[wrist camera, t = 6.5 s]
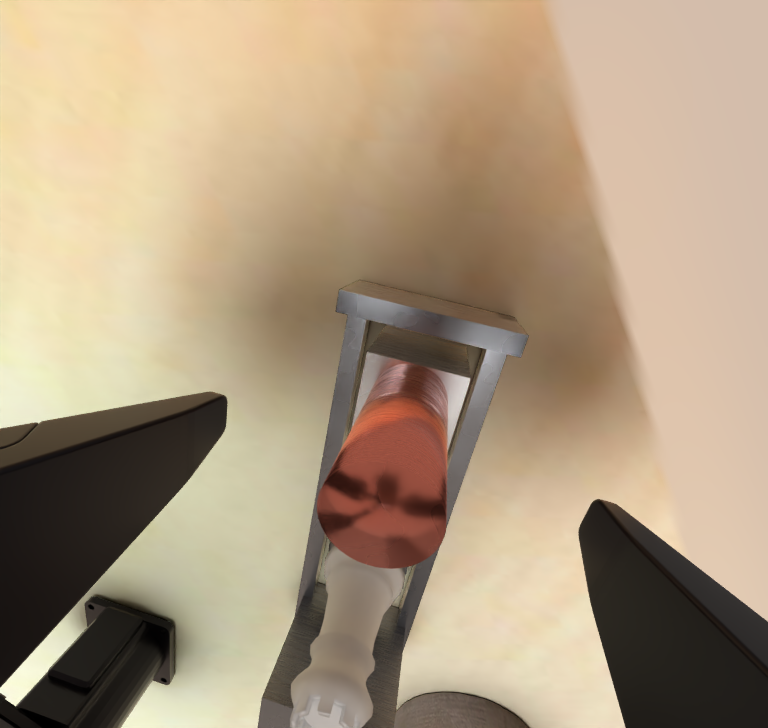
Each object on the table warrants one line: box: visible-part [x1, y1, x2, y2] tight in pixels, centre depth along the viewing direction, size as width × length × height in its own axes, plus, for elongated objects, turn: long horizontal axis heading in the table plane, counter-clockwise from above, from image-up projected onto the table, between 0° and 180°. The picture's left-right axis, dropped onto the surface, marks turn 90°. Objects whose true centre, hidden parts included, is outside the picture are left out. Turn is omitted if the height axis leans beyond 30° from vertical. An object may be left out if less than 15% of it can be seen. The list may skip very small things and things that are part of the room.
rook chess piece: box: [290, 542, 407, 728], centre depth 17 cm, size 4×4×8 cm
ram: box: [317, 325, 471, 569], centre depth 12 cm, size 6×4×10 cm
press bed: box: [258, 280, 529, 728], centre depth 16 cm, size 21×7×6 cm, turn 168°
